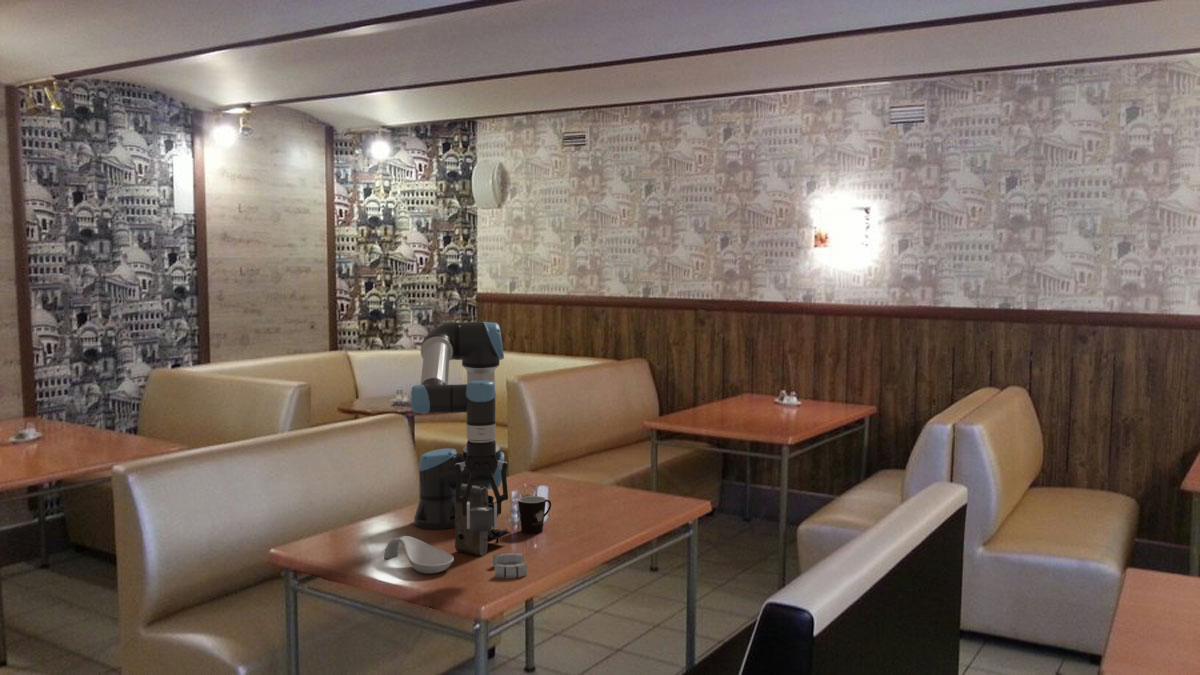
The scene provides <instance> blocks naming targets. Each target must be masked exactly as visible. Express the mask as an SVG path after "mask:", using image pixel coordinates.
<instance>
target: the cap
mask: <svg viewBox="0 0 1200 675" xmlns="http://www.w3.org/2000/svg"><path fill="white" fill-rule="evenodd" d="M493 529H495V528H494V508H491V507H474V508H471V509H470V530H471V531H476V532H485V531H491V530H493Z"/></svg>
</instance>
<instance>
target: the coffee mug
mask: <svg viewBox="0 0 1200 675" xmlns="http://www.w3.org/2000/svg"><path fill="white" fill-rule="evenodd" d="M547 502H548V505H549V506H548V509H547V510H546V503H547ZM517 503H518V512H519V518H520V521H519V522H520V526H521V527H520V528H521V533H522V534H525V535H539V534H541V533H543V529H544V521H545V517H546V516H547V515H548V513H549V512H550V510H551V508H552V501H551V500H549V499H547V498H546V497H543V496H539V495H538V496H536V495H532V496H531V495H528V496H523V497H519V498H517Z"/></svg>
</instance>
